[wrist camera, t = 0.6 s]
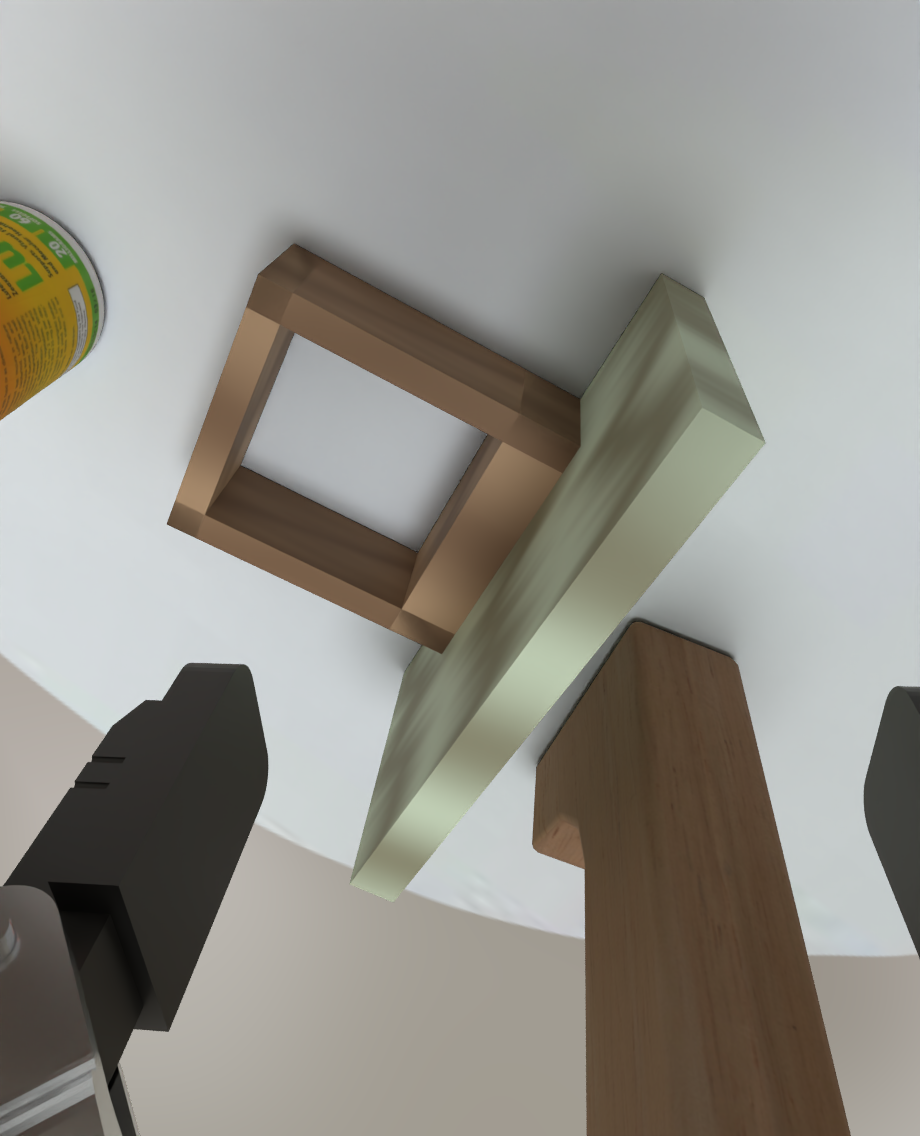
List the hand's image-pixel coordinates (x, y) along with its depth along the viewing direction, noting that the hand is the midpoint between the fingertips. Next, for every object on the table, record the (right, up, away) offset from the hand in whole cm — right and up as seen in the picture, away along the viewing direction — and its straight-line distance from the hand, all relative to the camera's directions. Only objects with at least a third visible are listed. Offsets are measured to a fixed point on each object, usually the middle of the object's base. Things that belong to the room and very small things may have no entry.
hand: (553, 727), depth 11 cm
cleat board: (-3, +6, +18) cm, 19 cm away
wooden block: (+6, -4, +24) cm, 25 cm away
